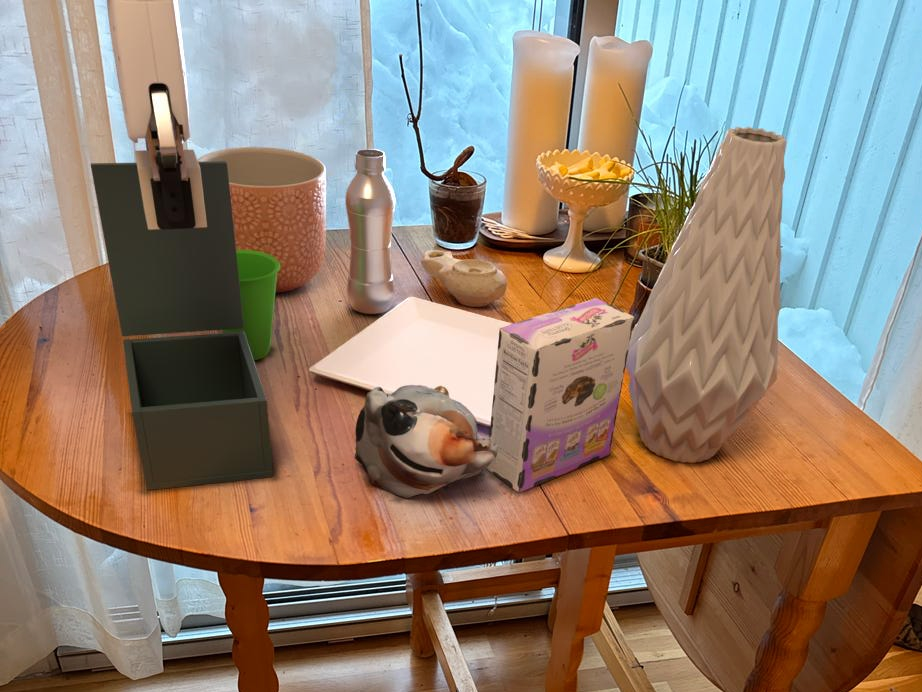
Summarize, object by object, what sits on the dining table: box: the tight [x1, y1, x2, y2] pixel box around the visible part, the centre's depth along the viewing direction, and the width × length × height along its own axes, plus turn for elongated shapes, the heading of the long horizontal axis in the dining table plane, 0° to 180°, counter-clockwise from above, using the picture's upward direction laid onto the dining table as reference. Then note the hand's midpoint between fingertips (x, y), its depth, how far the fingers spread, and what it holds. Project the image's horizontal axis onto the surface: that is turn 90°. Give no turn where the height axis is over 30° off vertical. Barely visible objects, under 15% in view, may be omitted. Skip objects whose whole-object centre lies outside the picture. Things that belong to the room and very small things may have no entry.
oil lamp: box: [421, 249, 508, 308], centre depth 135 cm, size 11×14×5 cm
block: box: [134, 149, 207, 230], centre depth 83 cm, size 5×5×5 cm
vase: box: [625, 126, 787, 464], centre depth 99 cm, size 17×17×33 cm
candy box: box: [485, 297, 635, 493], centre depth 99 cm, size 14×6×16 cm, turn 130°
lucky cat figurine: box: [354, 385, 498, 499], centre depth 96 cm, size 15×12×14 cm
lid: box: [90, 161, 244, 337], centre depth 98 cm, size 16×13×5 cm
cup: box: [221, 250, 280, 361], centre depth 115 cm, size 9×9×11 cm
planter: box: [197, 146, 327, 294], centre depth 131 cm, size 17×17×15 cm
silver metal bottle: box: [344, 148, 396, 315], centre depth 124 cm, size 6×7×20 cm
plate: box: [308, 296, 513, 428], centre depth 119 cm, size 26×26×2 cm
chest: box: [122, 332, 274, 491], centre depth 99 cm, size 16×13×9 cm
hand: (173, 213), depth 85 cm, fingers closed on block, 5 cm apart
